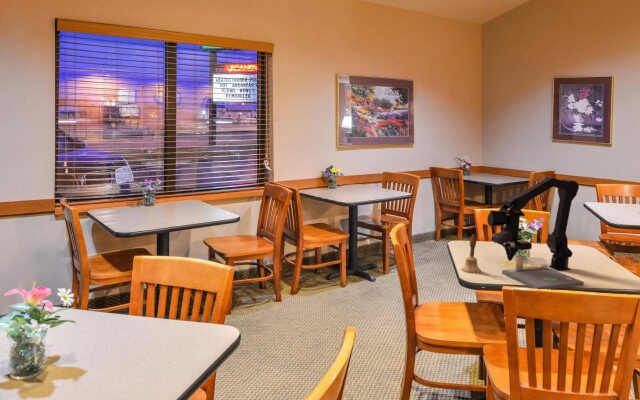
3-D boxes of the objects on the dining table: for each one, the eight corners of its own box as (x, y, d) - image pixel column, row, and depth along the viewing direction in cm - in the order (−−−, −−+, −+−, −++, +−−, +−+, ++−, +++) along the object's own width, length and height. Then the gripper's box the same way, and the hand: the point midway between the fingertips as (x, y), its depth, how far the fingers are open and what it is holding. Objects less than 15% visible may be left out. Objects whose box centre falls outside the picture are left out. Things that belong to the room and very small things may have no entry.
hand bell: (477, 267, 227) (479, 232, 224) (483, 273, 219) (485, 237, 216) (458, 267, 227) (460, 232, 224) (464, 273, 218) (466, 236, 216)
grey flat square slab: (544, 269, 224) (544, 266, 224) (583, 285, 204) (583, 281, 203) (501, 273, 218) (502, 270, 218) (537, 290, 197) (537, 286, 197)
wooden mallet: (542, 266, 223) (543, 254, 223) (548, 268, 220) (549, 256, 219) (511, 269, 219) (512, 257, 218) (516, 271, 215) (517, 259, 214)
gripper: (482, 222, 227) (480, 256, 229) (513, 231, 210) (510, 268, 212) (502, 221, 231) (500, 254, 233) (534, 229, 214) (531, 265, 216)
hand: (509, 260), depth 224 cm, fingers closed
